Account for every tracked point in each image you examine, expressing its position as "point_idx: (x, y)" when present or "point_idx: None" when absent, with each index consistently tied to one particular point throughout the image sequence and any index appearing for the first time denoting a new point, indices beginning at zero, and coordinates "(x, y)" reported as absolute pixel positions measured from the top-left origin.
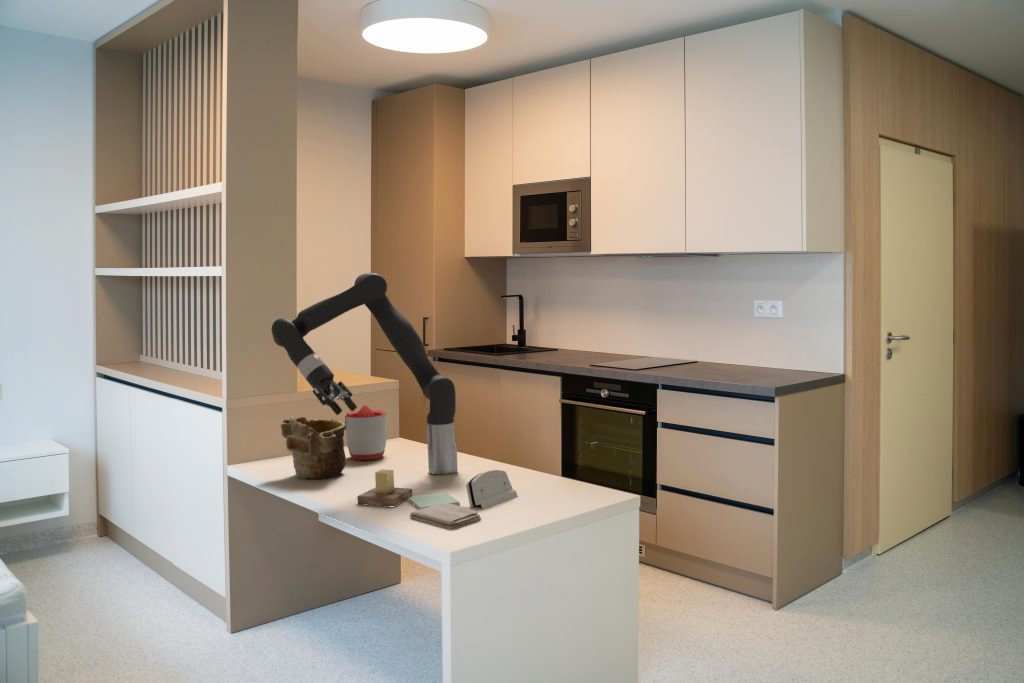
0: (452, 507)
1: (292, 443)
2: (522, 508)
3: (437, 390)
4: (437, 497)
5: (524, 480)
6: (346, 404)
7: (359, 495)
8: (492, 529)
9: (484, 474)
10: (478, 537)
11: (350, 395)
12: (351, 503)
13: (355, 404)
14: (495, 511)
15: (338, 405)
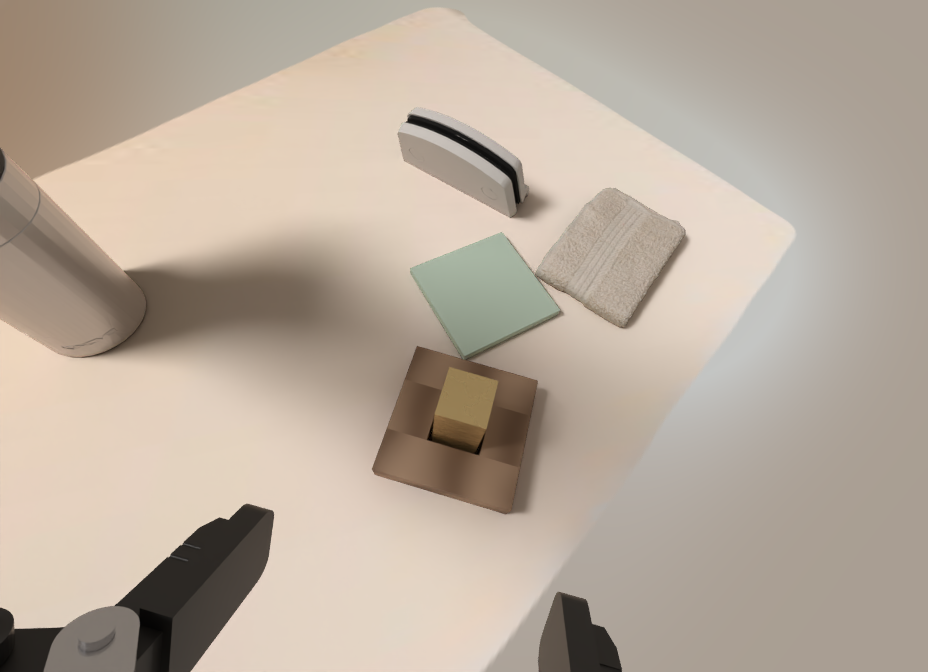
0: (591, 231)
1: None
2: (518, 135)
3: None
4: (462, 282)
5: (278, 127)
6: (196, 660)
7: (502, 505)
8: (661, 176)
9: (481, 135)
10: (713, 194)
11: (11, 638)
12: (494, 542)
13: (229, 519)
14: (544, 174)
15: (574, 656)
